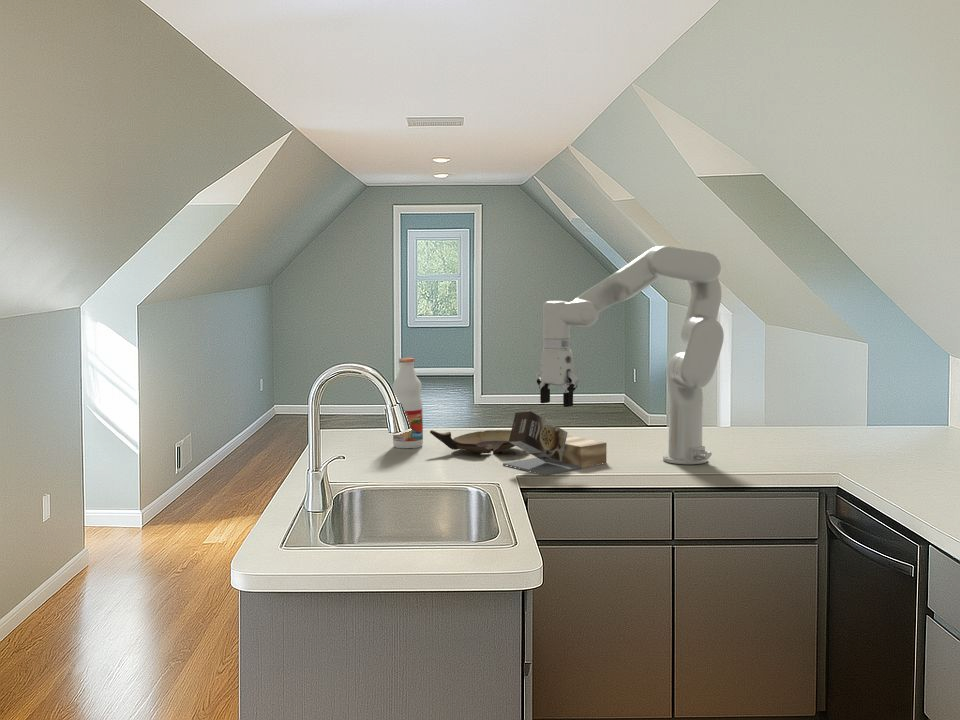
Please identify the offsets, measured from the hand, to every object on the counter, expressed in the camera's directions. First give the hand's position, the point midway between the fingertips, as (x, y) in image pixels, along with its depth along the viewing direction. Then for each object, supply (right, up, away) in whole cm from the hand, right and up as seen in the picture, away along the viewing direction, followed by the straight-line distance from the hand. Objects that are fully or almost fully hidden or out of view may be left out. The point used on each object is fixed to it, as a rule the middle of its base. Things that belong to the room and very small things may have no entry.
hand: (556, 404), depth 280 cm
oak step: (+6, -17, +6) cm, 19 cm away
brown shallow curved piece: (-21, -16, +23) cm, 35 cm away
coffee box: (0, -12, +1) cm, 12 cm away
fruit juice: (-45, -15, +32) cm, 57 cm away
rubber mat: (-4, -18, -2) cm, 18 cm away
